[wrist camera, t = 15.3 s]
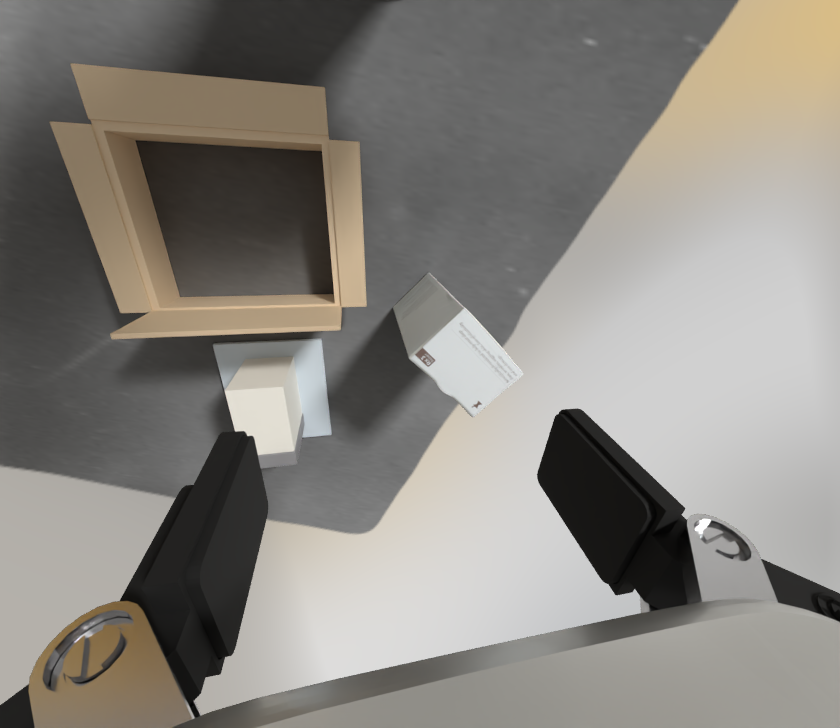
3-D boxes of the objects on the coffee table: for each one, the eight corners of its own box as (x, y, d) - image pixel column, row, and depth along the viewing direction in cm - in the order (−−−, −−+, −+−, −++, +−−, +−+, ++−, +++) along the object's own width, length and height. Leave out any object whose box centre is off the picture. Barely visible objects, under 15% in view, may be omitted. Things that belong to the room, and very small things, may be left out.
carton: (73, 80, 25) (-76, 12, 16) (355, 105, 29) (359, 61, 20) (147, 303, 32) (72, 340, 24) (364, 298, 36) (370, 328, 28)
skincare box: (470, 319, 40) (531, 374, 27) (434, 353, 41) (476, 423, 28) (425, 268, 36) (469, 304, 23) (386, 307, 37) (408, 362, 24)
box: (244, 359, 36) (222, 392, 30) (294, 356, 37) (283, 387, 31) (259, 428, 40) (243, 470, 34) (304, 424, 41) (297, 464, 35)
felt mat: (214, 343, 35) (212, 344, 35) (321, 338, 37) (321, 340, 37) (239, 441, 41) (238, 443, 40) (331, 432, 43) (331, 434, 42)
